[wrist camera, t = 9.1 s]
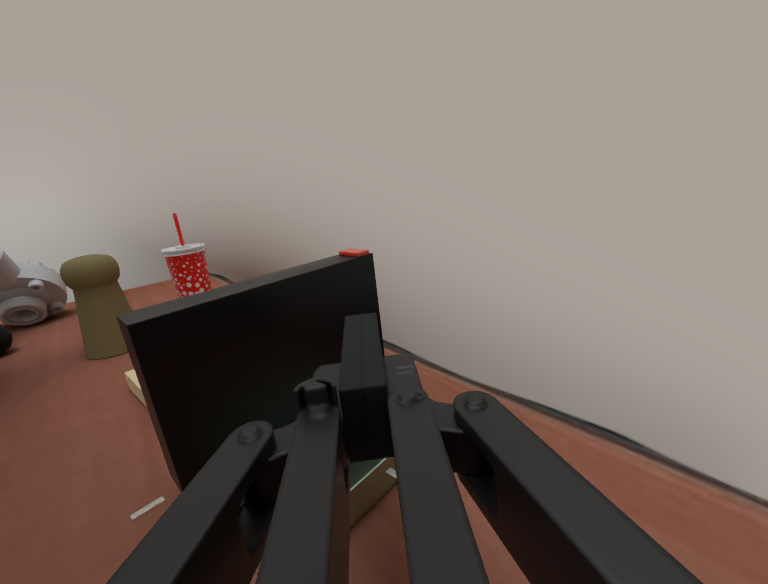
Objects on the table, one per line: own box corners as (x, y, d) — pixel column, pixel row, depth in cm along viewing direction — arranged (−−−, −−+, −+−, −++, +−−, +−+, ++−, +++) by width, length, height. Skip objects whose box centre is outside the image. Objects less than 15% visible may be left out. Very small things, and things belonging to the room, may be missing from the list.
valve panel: (101, 468, 23) (89, 439, 23) (323, 353, 36) (320, 333, 35) (234, 728, 11) (217, 683, 11) (500, 419, 24) (499, 390, 23)
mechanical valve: (77, 289, 64) (24, 228, 52) (90, 378, 56) (32, 331, 44) (1, 308, 60) (-76, 247, 48) (3, 408, 52) (-87, 364, 40)
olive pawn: (157, 339, 45) (129, 250, 41) (103, 362, 40) (67, 263, 36) (129, 334, 47) (101, 250, 44) (75, 355, 42) (39, 262, 39)
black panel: (184, 497, 18) (124, 319, 15) (170, 475, 19) (113, 310, 16) (386, 373, 27) (372, 249, 24) (366, 365, 28) (350, 247, 26)
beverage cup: (215, 304, 56) (192, 212, 52) (172, 312, 55) (144, 217, 51) (221, 294, 62) (200, 209, 58) (182, 300, 61) (157, 215, 56)
